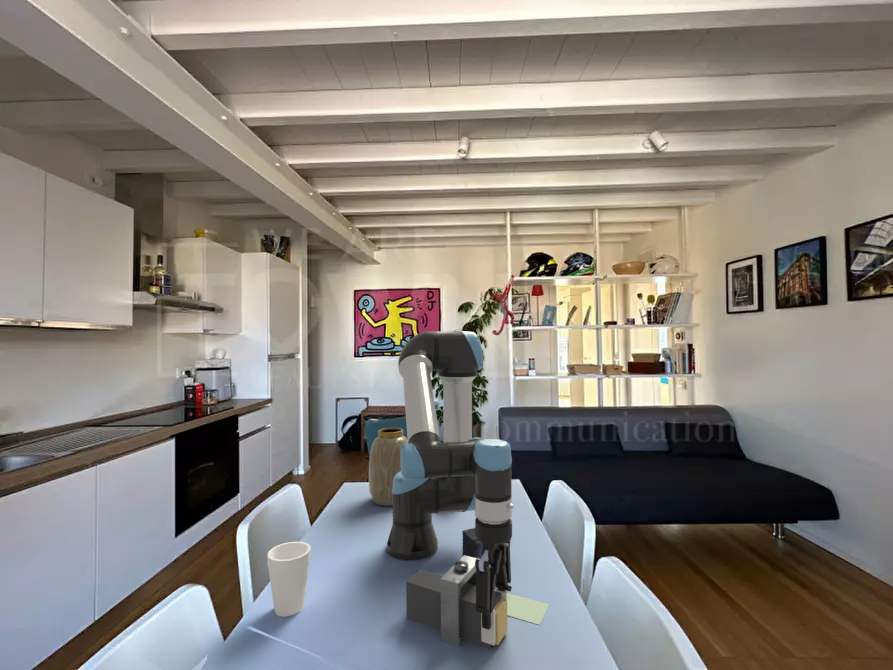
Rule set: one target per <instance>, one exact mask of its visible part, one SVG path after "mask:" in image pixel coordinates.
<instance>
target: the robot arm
mask: <svg viewBox="0 0 893 670" xmlns="http://www.w3.org/2000/svg"><path fill="white" fill-rule="evenodd" d="M483 363H484V354H483V348H482V344H481V340H480V338H479V336H478V335H477V334H476V332H473V331H464V330H457V331H456V330H455V331H452V330H451V331H450V330H449V331H444V330H443V331H440V330H439V331H431V330H430V331H429V330H428V331H424V332H423V331H422V332H420V333H418V334H415V335H414V336H413V337H412V338H411V339H409V340H408V341H407V342H406V344H405V345H404V347H402V349H401V352H400V354H399V358H398V363H397V364H398V372H399V375H400V376H401V378H402V382H403V394H404V395H403V398H404V407H405V421H406V433H407V435H406V438H407V440H408V444H404V445H402V446H401V450H400V461H401V471H400V472H398V473H397V474H396V475H395V476H394V478H393V489H392V493H393V506H392V524H391V528H390V532H389V535H388V539H387V542H386V552H387V554H388V555H389V556H390V557H392V558H394V559H396V560H399V561H400V560H401V561H408V562H409V561H421V560H423V559H424V560H425V559H428V558H430V557H432V556H433V555H435V554H436V553H437V552H438V550H439V541H438V537H437V534H436V531H435V528H434V524H433V514H435V515H436V514H446V513H447V514H448V513H466V512H469V511H474V515H475V517H476V518H475V521H474V524H475V525H474V528H475V535H476V537H477V538H478V539H479V540H480V541H481V542H482V543H483V545H482V550H481V556H482V558H481V560H480V559H476V561H475V567H476V611H477V612H480V613H481V641H482V642H485V643H488V644H491V645H492V646H495V645H496V633H495V609H493V604H494V593H495V591H496V592H499V593H501V599H502V600H505V601H507V593H509V592H510V593H511V592H512V586H511V585H509V584H511V582H512V567H511V540H512V537H513V519H512V516H513V515H512V514H513V513H512V511H513V509H514V507H515V505H514V503H512V492H513V491H512V487H513V486H512V463H513V458H512V449H511V448H512V447H511V445H510V443H509V442H507V441H506V440H502V439H500V438H499V439H497V438H486V439H484V438H482V437H476V436H475V437H473V436H472V435H473V431H472V430H473V416H472V415H473V405H472V404H473V402H472V401H473V399H472V398H473V391H472V390H473V389H472V388H473V384H472V383H473V381H474V380H475V378H477V377H478V376H477V375H478V371H480V370H482V369H483V365H484V364H483ZM434 371H437V374H438V375H437V377H438V378H440V380H441V381H442V382H443V389H442V390H443V393H442V394H443V398H442V399H443V402H442V403H443V410H442V411H443V416H442V417H443V421H442V422H443V423H442V425H443V442H441V438H440V430H439V422H438V417H437V410H436V403H435V398H434V391H433V384H432V378H431V374H432V372H434ZM490 567H493V568H490ZM507 625H508V619H507Z"/></svg>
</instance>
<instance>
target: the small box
mask: <svg viewBox="0 0 893 670" xmlns="http://www.w3.org/2000/svg"><path fill="white" fill-rule="evenodd" d="M482 545H483V543H482V542H481V541H480V540H479V539H478V538H477V537H476V535H475V527H474V528H472V527H471V528H469V529H464V530H462V555H461V556H462V557H463V556H464V555H465V556H469V557H473V558H477V559H480V560H481V558H482V556H481V550H482ZM462 557H461V558H462ZM490 568H493V567H490Z"/></svg>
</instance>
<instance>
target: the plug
mask: <svg viewBox="0 0 893 670" xmlns="http://www.w3.org/2000/svg"><path fill="white" fill-rule="evenodd" d="M443 576H444V575H442V574H438V573H435V572H431V571H429V570H424V569H420V570H418V571H417V572H416V573H415V574H414V575H412V577H410V578H409V579H408V580H407V581H406V584H405V586H406V590H405V591H406V596H405V598H406V602H405V603H406V609H405V610H406V619H407V620H410V621H412V622H415V623H418V624H421V625H424V626H426V627H429V628H432V629H435V630H438V631H440V632H441V578H442V577H443ZM460 595H461V640H464V641H467V642H470V643H474V644H476V645H479V646H482V647H485V648H488V649H491V648H492V646H493V645H491V644H488V643H485V642H482V641H481V613H480V612H477V611H476V585H472V584H469V583H465V584H464V585H463V586H462V588H461V589H460ZM493 609H495V633H496V644H495V645H497V646H499V645H500V643H501V641H502V640H503V638H504V637H505V635H506V633H507V632H508V624H507V620H508V616H507V601H505V600H502V599H501V593H499V592H496V591H495V593H494V604H493Z"/></svg>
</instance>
